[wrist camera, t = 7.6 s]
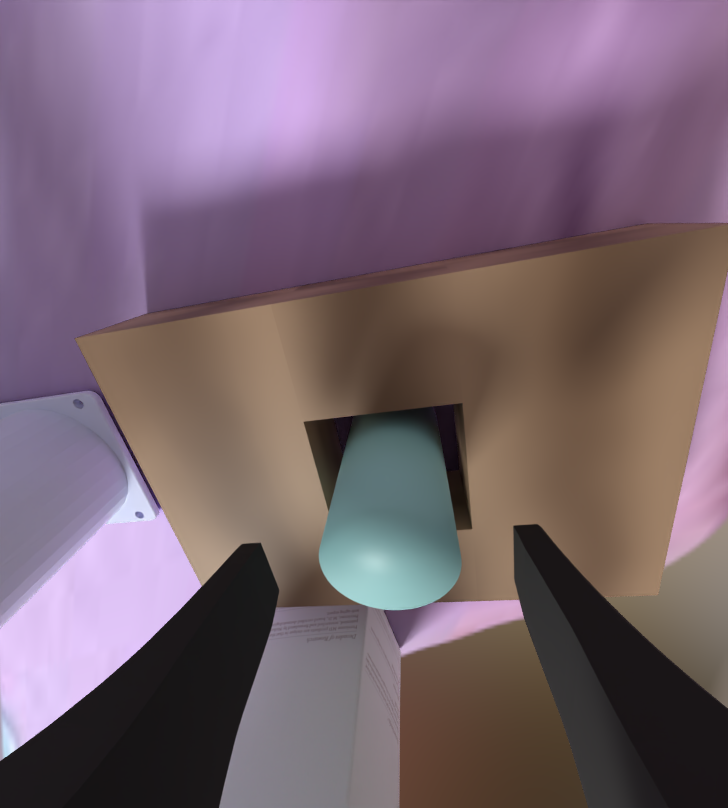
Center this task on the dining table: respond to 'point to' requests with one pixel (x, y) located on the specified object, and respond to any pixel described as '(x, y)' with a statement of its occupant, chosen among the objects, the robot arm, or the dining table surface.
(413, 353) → the socket block
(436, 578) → the peg
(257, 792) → the supplement box
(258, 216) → the dining table surface
